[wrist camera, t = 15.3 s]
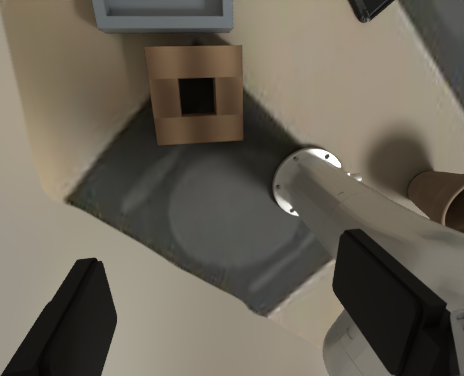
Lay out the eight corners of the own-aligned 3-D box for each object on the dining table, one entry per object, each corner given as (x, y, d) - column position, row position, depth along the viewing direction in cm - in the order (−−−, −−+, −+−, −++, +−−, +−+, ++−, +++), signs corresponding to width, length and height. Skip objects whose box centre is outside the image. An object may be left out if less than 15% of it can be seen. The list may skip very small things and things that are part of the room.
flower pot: (461, 173, 50) (522, 194, 41) (422, 220, 53) (471, 249, 44) (423, 147, 47) (480, 163, 38) (384, 199, 50) (427, 226, 41)
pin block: (236, 49, 36) (242, 45, 33) (238, 134, 41) (243, 140, 37) (148, 50, 35) (143, 46, 31) (160, 139, 39) (157, 145, 36)
